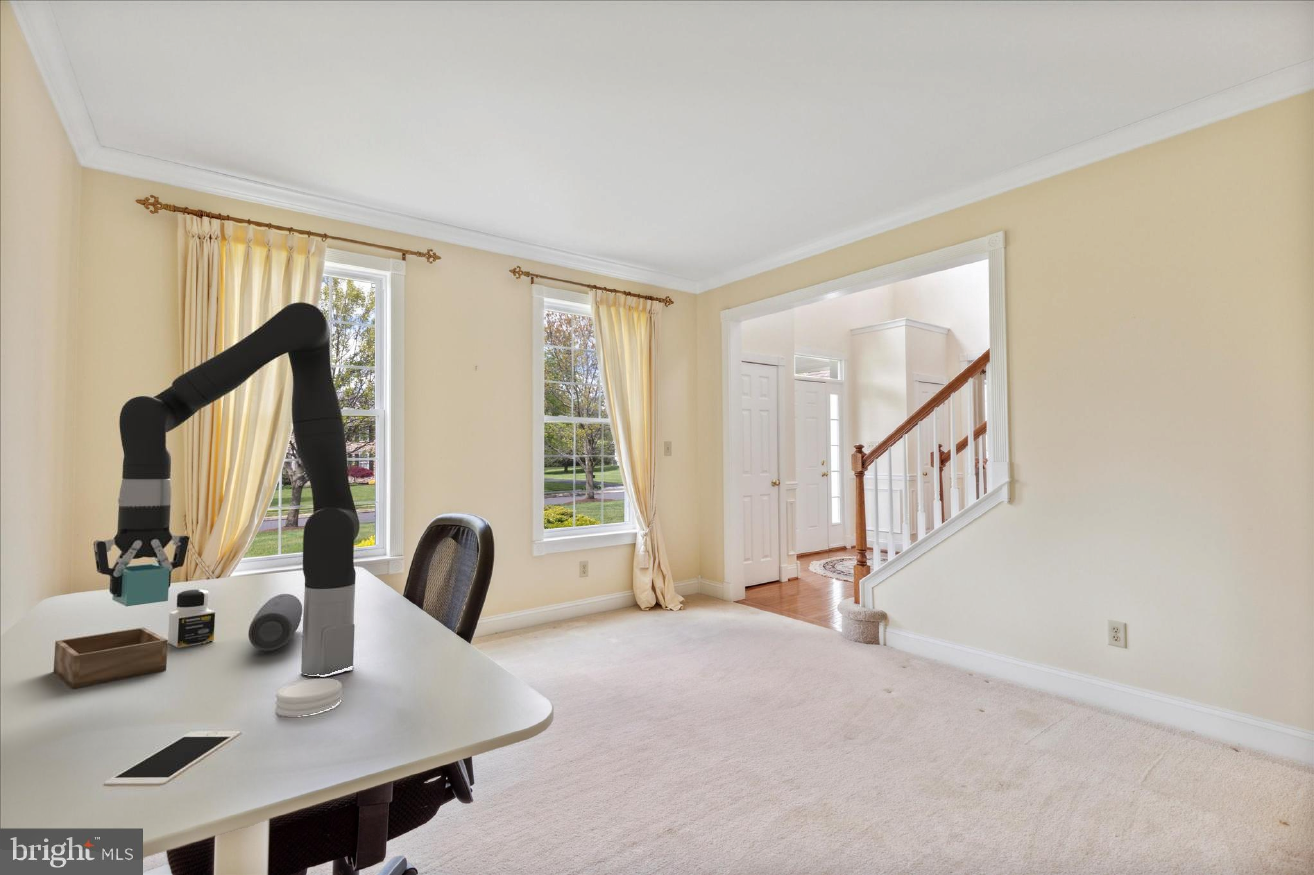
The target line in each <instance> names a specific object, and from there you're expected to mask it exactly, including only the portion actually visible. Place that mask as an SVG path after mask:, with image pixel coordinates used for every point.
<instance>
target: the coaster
mask: <svg viewBox="0 0 1314 875" xmlns="http://www.w3.org/2000/svg"><path fill="white" fill-rule="evenodd" d="M342 688H343V685H342V682H340V681H339V680H337V679H334V678H333V679H332V678H312V679H304V680H299V681H296V682H292V683H289V684H286V685H285V686H283V687H281V688H280V689H278V691H277V693H276V694H275V697H276V701H275V706H276V707H275V713H276V714H277V715H278V714H279V715H278V716H280V715H282V716H281V717H284V716H287V717H286V718H299V717H298V716H303V715H310V714H313V713H318V712H320V711H324V710H326V709H329V708H332V706H335V705H336V704H337V703H338V702H340V700H341V698H342V695H343V691H342Z"/></svg>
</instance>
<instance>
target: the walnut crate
mask: <svg viewBox="0 0 1314 875" xmlns="http://www.w3.org/2000/svg"><path fill="white" fill-rule="evenodd" d="M168 644H169V643H168V638H165V637H163V636H161V635H159V634H157V633H156V632H154V631H151V630H149V628H146V627H144V626H143V627H137V628H131V629H130V628H129V629H124V630H117V631H111V632H106V633H105V632H104V633H99V634H98V633H97V634H92V635H91V634H90V635H86V636H80V637H78V636H77V637H72V638H67V639H60V640H55V644H54V658H53V659H54V660H53V673H54V674H55V675H56V676H58V677H59V678H60V679H61V680H62V681H63V682H64V681H65V682H64V683H65V684H66V683H67V684H68V685H67V684H66V685H67V686H68V687H69V686H70V689H72V690H74V689H75V688H76V689H81V688H87V687H90V686H94V684H96V685H99V683H101V684H105V683H109V682H108V681H110V682H115V681H119V679H120V680H125V679H129V678H130V679H131V678H135V677H138V676H143V675H144V676H145V675H149V674H155V673H158V672H163V671H166V670H167V659H168V658H167V657H168ZM114 680H115V681H114Z"/></svg>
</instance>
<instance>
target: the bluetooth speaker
mask: <svg viewBox="0 0 1314 875" xmlns="http://www.w3.org/2000/svg"><path fill="white" fill-rule="evenodd" d="M302 615H303V604H302V602H301V601H300V599H299V598H298V597H297V596H295V595H294V594H290V593H280V594H277V595H275V596H273V597H272V598H270V599H268V600H267V601H266V602H265V603H264V604H263V605H262V606H261V608H259V610H258V611H257V613H256V614H255V616H254V617H253V619H252V621H251V622H250V625H249V628H248V634H247V635H248V639H249V642H250V644H251V645H252V646H253V647H254V648H255V649H258V650H260V651H268V652H269V651H275V650H278V649H280V648H281V647H284V645H286V644H287V643H288V642H289V641H290V640H291V639H292V637H293V635H295V633H296V631H297V630H298V629H299V626H300V623H301V621H302V617H303V616H302Z"/></svg>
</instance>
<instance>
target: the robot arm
mask: <svg viewBox="0 0 1314 875" xmlns="http://www.w3.org/2000/svg"><path fill="white" fill-rule="evenodd" d="M330 328H331V327H330V325H329V323H328V320H327V318H326V316H325V315H324V313H323V312H322V311H321V310H320V308H318V307H317V306H315V305H313V304H311V303H308V302H303V301H302V302H301V301H300V302H298V301H297V302H293V303H292V302H291V303H290V304H288V305H286V306H285V307H283V308H282V309H280V311H278V312H277V313H275V314H274V315H273V316H272V317H270V318H269V319H268V320H266V321H265V322H264V323H263V324H262V325H261V326H259V327H258V328H257V329H255V330H254V331H252V332H251V333H250V334H248V335H247V336H246V337H244V338H242V339H241V340H239V341H238V342H236V343H234V344H232V345H231V346H230V347H228V348H227V349H225V350H223V351H221V352H220V353H218V354H216V355H215V356H213V357H211V358H208V359H207V360H206V361H204V362H202V363H200V364H198V365H196V366H195V367H193V368H191V369H189V370H187V371H186V372H184V373H182V374H181V375H180V376H178V377H177V378H175V379H174V380H173V381H172V383H171V386H169V387H168V388H166V389H164V390H162V392H160V393H158V394H156V395H154V396H153V397H152V396H150V395H149V396H148V395H141V396H140V395H139V396H135V397H132V398H130V399H129V400H128V401H126V402H125V403H124V405H122V408H121V410H120V413H119V423H118V424H119V425H118V426H119V434H120V441H121V447H122V450H123V451H122V452H123V461H122V471H121V472H122V476H121V479H122V480H121V484H120V487H119V496H118V500H117V502H118V513H117V514H118V515H117V516H118V517H117V533H116V535H114V537H113V538H111V539H105V540H100V539H99V540H94V542H93V551H94V558H95V566H96V571H97V573H99V574H101V575H106V576H109V593H110V594H111V595H112V596H113V595H114V597H121V594H122V576H121V574H122V573H123V570H125V568H126V566H129V564H130V563H131V561H132V560H139V559H142V558H149V559H151V558H153V559H154V560H155V562H156V564H157V565H160V566H163V567H167V568H170V570H169V588H170V587H171V582H172V580H171V579H172V571H173V570H174V569H177V568H182V567H184V565H185V560H186V555H187V552H188V546H189V542H190V537H189V536H188V535H185V534H181V535H173V534H172V533H171V530H170V527H171V526H170V524H171V509H172V508H171V505H172V504H171V503H172V486H171V472H172V457H171V453H170V451H169V450H168V449H167V433H168V432H171V431H172V430H174V429H176V428H178V427H179V426H180V425H182V424H184V423H185V422H186V421H187V420H188V419H190V418H191V417H192V416H194V415H195V414H196V413H198V411H200V410H201V409H202V408H205V407H207V406H209V405H211V404H212V403H214V402H216V401H218V400H220V399H221V398H223V397H224V396H226V395H228V394H229V393H231V392H232V391H234V390H235V389H237V388H238V387H240V386H241V385H242V384H243V383H245V382H246V381H248V380H249V379H250V378H251V377H252V376H253V375H254V374H255V373H257V372H258V371H259V370H260V369H262V368H263V367H264V366H266V365H267V364H269V363H271V362H272V361H274V360H275V359H277V358H279V357H281V356H283V355H285V354H287V355H288V359H289V364H290V367H291V373H292V394H291V395H292V396H291V420H292V427H293V428H292V429H293V434H294V436H293V437H294V441H295V446H296V450H297V453H298V456H299V459H300V462H301V464H302V466H303V469H304V471H305V474H306V476H307V479H308V481H309V485H310V489H311V496H312V509H313V510H312V514H311V515H310V516H309V517H308V519H307V520H306V522H305V525H304V527H303V528H304V529H303V536H302V537H303V538H302V574H303V576H304V592H303V594H304V596H303V611H302V615H303V616H302V617H303V618H302V637H301V638H302V642H301V666H300V668H301V669H300V670H301V672H302V674H307V675H317V674H319V675H325V674H330V673H332V672H335V671H338V670H342V669H344V668H348V667H350V666H353V667H354V655H355V653H354V652H355V627H356V625H355V622H354V621H355V599H356V598H355V597H356V577H357V576H356V575H357V574H356V569H355V564H354V561H355V560H354V558H355V557H354V554H355V540H356V539H357V537H358V534H359V533H360V520H359V516H358V512H357V508H356V505H355V502H354V498H353V493H352V490H351V487H350V486H351V485H350V480H349V466H348V452H347V451H348V450H347V442H346V434H345V432H346V431H345V427H344V426H345V425H344V420H343V414H342V409H341V405H340V400H339V397H338V392H337V390H336V386H335V382H334V378H333V373H332V366H331V365H332V364H331V333H330V332H331V329H330ZM171 542H172V546H174V547H175V548H174V554H173V557H172V561H170V560H169V557H168V555H167V554H166V552H165V548H166V547H167V546H168V545H169V544H170V543H171ZM113 546H116V547H117V549H118V550H119V551H120V553H119V555H118V557H117V558H116V560H115V562H114V564H113V565H112V567H110V565H109V558H108V553H109V552H110V551H112V547H113ZM302 674H301V675H302Z"/></svg>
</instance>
